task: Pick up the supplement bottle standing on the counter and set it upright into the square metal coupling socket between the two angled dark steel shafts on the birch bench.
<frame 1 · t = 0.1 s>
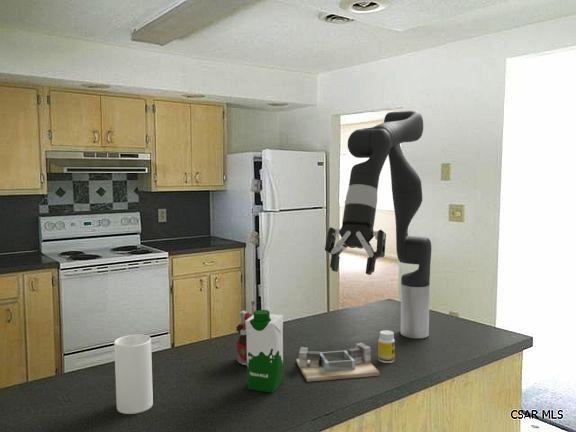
hand: (351, 272, 117), 31 cm above the counter, tool tilted 20°, fingers open, 8 cm apart
cup: (135, 406, 119), on the counter
milk carton: (265, 386, 130), on the counter
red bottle: (254, 362, 146), on the counter
supplement bottle: (386, 361, 147), on the counter
shaft bench: (336, 368, 141), on the counter
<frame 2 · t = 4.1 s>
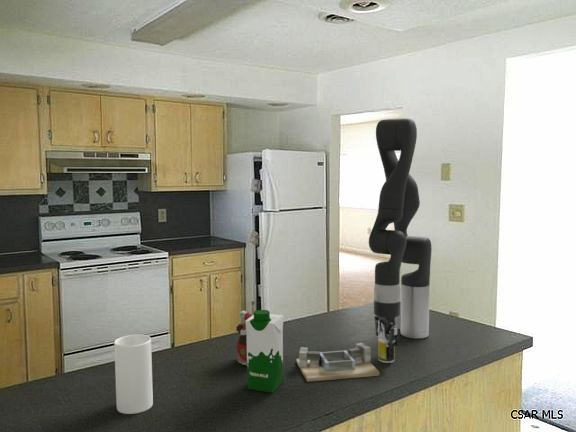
hand: (386, 355, 146), 1 cm above the counter, tool pointing down, fingers closed on supplement bottle, 4 cm apart
supplement bottle: (386, 361, 146), on the counter, touching gripper
everything else where it was.
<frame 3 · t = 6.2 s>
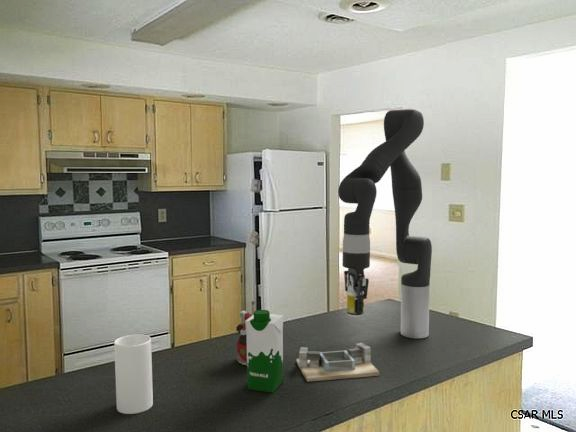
hand: (355, 310, 140), 16 cm above the counter, tool pointing down, fingers closed on supplement bottle, 4 cm apart
supplement bottle: (355, 316, 141), point 15 cm above the counter, touching gripper
everything else where it was.
when the fingers open (4 cm above the counter, at t = 8.7 s): supplement bottle drops 2 cm, resting on shaft bench.
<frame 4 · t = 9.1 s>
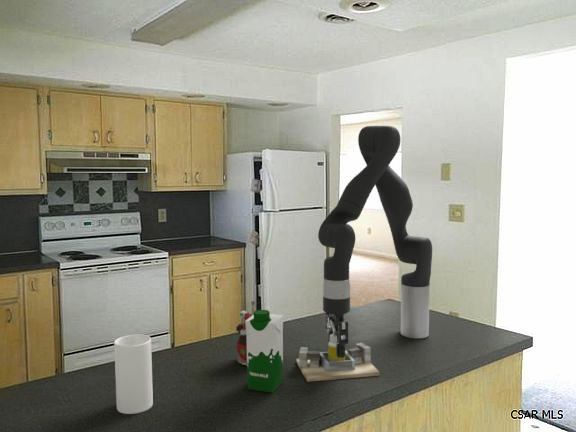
hand: (336, 351, 140), 5 cm above the counter, tool pointing down, fingers open, 8 cm apart
supplement bottle: (336, 365, 141), point 1 cm above the counter, touching shaft bench
everything else where it was.
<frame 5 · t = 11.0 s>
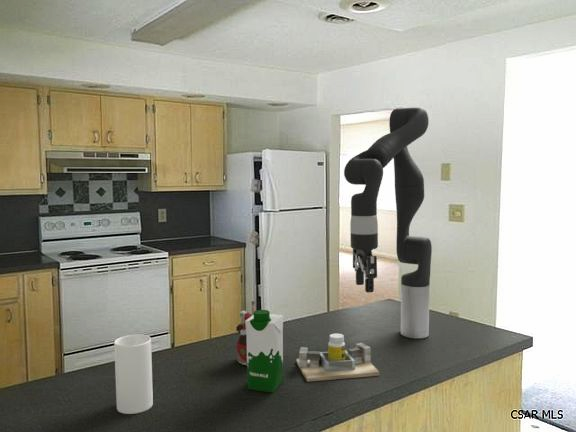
hand: (364, 288, 141), 22 cm above the counter, tool pointing down, fingers open, 8 cm apart
nothing on the counter moved.
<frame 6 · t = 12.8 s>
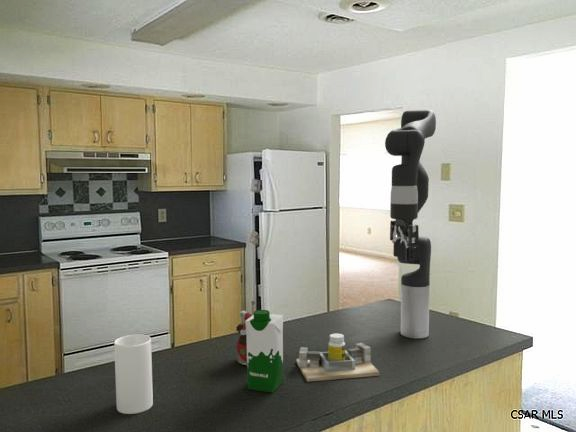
hand: (403, 258, 143), 30 cm above the counter, tool pointing down, fingers open, 8 cm apart
nothing on the counter moved.
at the end: supplement bottle 0.2 cm off-centre on the shaft bench, point 0.8 cm above the shaft bench's base; supplement bottle tilted 0°; the gripper is holding nothing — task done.
